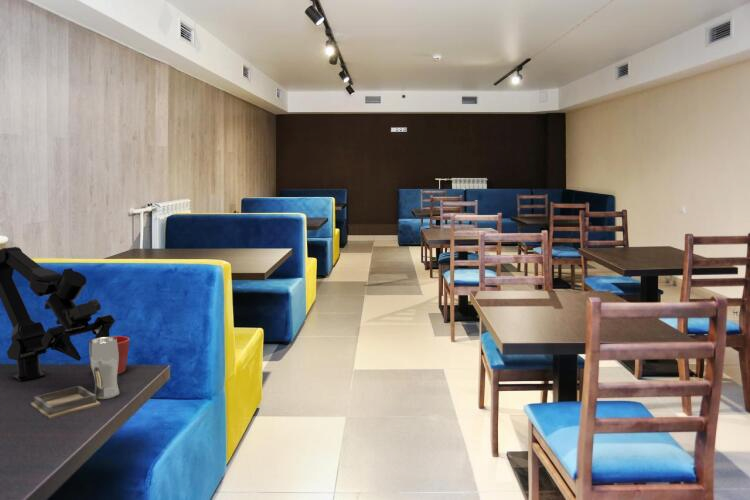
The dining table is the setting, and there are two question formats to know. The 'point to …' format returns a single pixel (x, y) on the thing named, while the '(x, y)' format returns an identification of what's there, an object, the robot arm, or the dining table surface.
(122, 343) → the flower pot
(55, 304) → the robot arm
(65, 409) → the tray
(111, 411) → the dining table surface
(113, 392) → the beer glass
